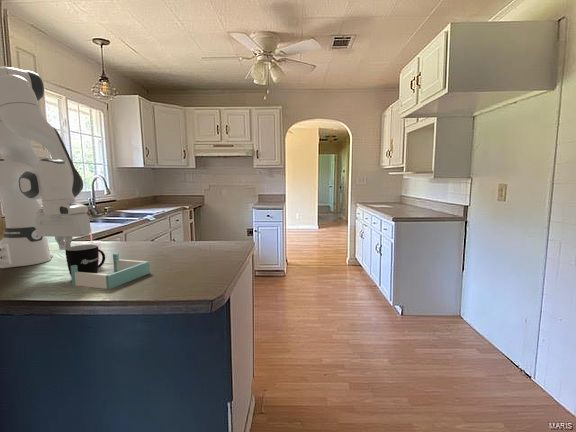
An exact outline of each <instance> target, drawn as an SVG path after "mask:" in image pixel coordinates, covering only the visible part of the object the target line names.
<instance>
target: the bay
mask: <svg viewBox="0 0 576 432" xmlns="http://www.w3.org/2000/svg"><path fill="white" fill-rule="evenodd" d="M119 255H120V254H119V253H113V254H112V259H113V260H112V261H113V272H112V273H109V274H106V273H98V272H97V273H86V272H78V268H77V265H72V266H71V275H70V278H71V285H72V286H73V287H75V286H77V287H83V288H84V287H85V288H87V287H88V288H96V289H104V290H105V289H106V290H111V289H114V288H116V287H118V286H122V285H125V284H126V283H128V282H132V281H133V280H136V279H139V278H141V277H143V276H146V275H148V274H150V273H151V268H150V267H151V266H150V261H148V260H147V261H145V260H133V259H132V260H131V259H120V257H119Z"/></svg>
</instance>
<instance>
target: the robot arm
mask: <svg viewBox="0 0 576 432" xmlns="http://www.w3.org/2000/svg"><path fill="white" fill-rule="evenodd" d="M44 93H45V86H44V83H43V80H42V77H41V76H40V75H39V74H38V73H36V72H34V71H32V70H28V69H25V70H23V69H20V68H15V67H12V66H11V67H9V66H4V65H3V66H0V155H1V157H2V158H3V160H0V201H1V204H2V207H3V213H4V220H5V227H4V228H3V229H1V231H2V233H3V234H2V236H3V238H2V239H1V240H0V269H8V268H15V267H25V266H31V265H37V264H42V263H46V262H49V261H51V260H52V258H53V254H51V252H50V246H49V242H48V238H47V237H54V240H55V243H57V245H58V249H59V250H62V251H65V249H66V248H68V247H72V246H71V244H72V242H73V238H75V237H76V238H82V237H87V236H90V232H91V230H92V228H91V222H90V217H89V215H88V211H89V209H88V208H89V207H88V206H87V205H85V204H83V203H80V202H78V201H76V200H75V198H76V197H77V196H79V195H80V194H81V193H82V190H83V189H84V181H83V178H82V176H81V175H80V173H79V172H78V171H77V168H76V167H75V164H74V163H73V161H72V158H71V156H70V154H69V151H68V150H67V147H66V146H65V143H64V141H63V138H62V137H61V135H60V134H59V132H58V130H57V129H56V128H55V127H54V126H52V125H51V124H50V123H49V122H48V121H47V119H46V118H45V116H44V115H43V112H42V110H41V105H40V103H39V101H40V100H41V99H42V98H43V97H44ZM31 141H33V142H36V143H38V144H39V145H41V146H42V147H44V148H45V149H46V150H47V151H48V152H49V155H50V158H49V157H48V158H40V159H39V158H38V156H37V154H36V151H35V149H34V147H33V144H32V142H31ZM38 200H41V203H40V202H38ZM41 204H42V206H41Z"/></svg>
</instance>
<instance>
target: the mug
mask: <svg viewBox="0 0 576 432" xmlns="http://www.w3.org/2000/svg"><path fill="white" fill-rule="evenodd" d="M64 251H65V258H66V263H67V267H68V268H67V269H68V272H69V275H70V276H71V266H72V265H77V268H78V272H86V273H97V274H98V271H99V270H98V269H99V268H102V266H103V265H104V263H105V262H106V255H105V252H104V251H103V250H101V249H100V250H99V249H98V246H97V245H82V244H80V245H74V246H71V247H68V248H66V249H65V250H64ZM99 252H100V255H101V257H102V258H101V260H100V264H99V265H98V259H99Z"/></svg>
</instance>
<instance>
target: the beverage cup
mask: <svg viewBox="0 0 576 432" xmlns="http://www.w3.org/2000/svg"><path fill="white" fill-rule="evenodd" d="M92 230H93V229H91V232H90V234H89V236H90V240H88V241H84V242H81V245H97V246H98V249H99V250H101V244H102V241H101V240H93V234H92ZM100 263H101V253H100V252H99V259H98V265H99V264H100Z"/></svg>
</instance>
